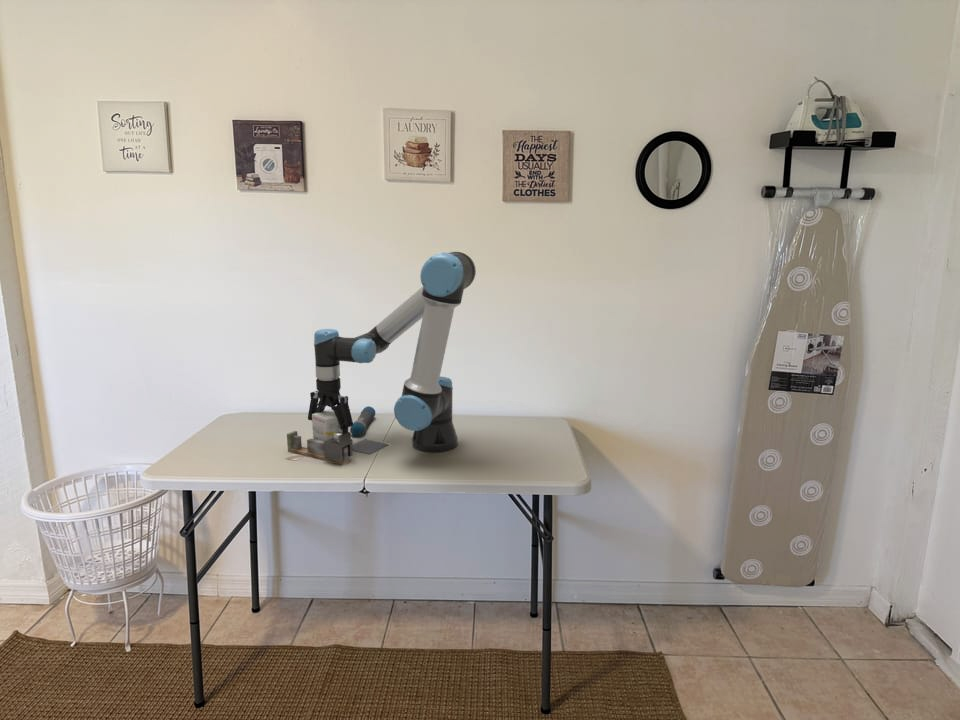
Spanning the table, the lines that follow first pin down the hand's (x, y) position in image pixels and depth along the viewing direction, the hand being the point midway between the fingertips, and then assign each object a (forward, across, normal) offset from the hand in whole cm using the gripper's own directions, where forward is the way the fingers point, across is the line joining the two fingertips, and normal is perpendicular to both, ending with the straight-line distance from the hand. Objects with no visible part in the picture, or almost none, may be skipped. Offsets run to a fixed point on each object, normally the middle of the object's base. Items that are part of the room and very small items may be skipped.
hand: (331, 443), depth 200 cm
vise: (+1, -2, +10) cm, 11 cm away
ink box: (+1, 0, 0) cm, 1 cm away
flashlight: (+2, +4, -21) cm, 21 cm away
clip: (0, -10, +8) cm, 13 cm away
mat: (+1, -10, -6) cm, 12 cm away
